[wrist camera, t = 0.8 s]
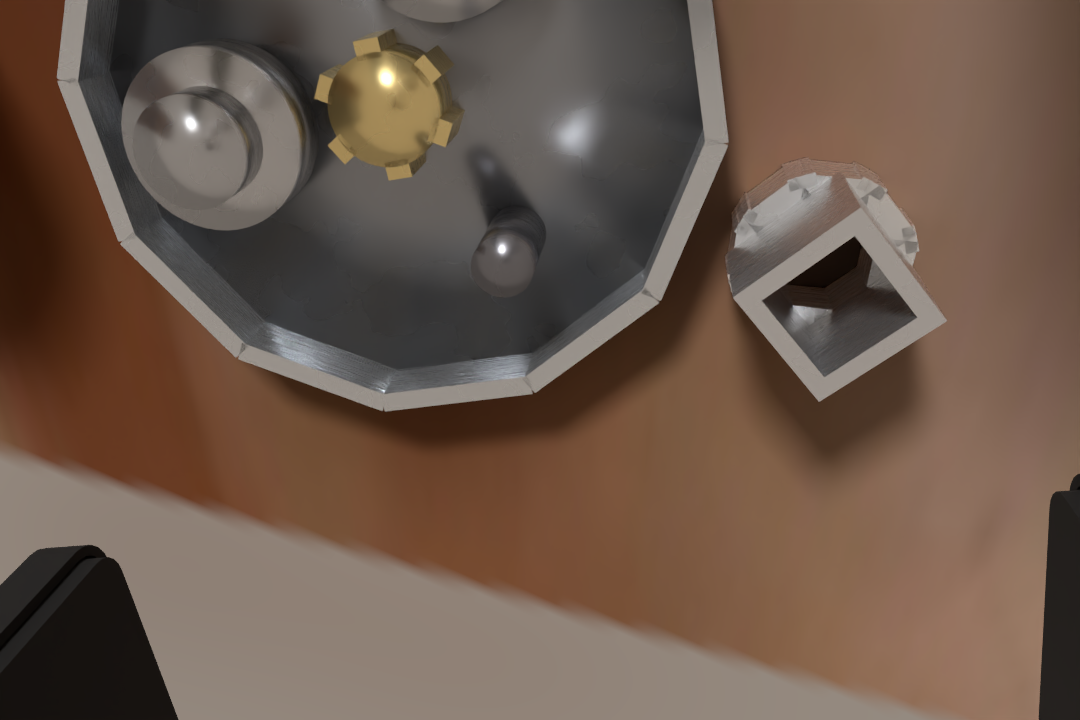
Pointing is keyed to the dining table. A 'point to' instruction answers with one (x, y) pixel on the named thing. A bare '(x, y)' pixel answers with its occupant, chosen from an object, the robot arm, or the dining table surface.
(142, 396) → the dining table surface
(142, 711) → the robot arm
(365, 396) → the tray
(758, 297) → the grey hollow boxy piece
